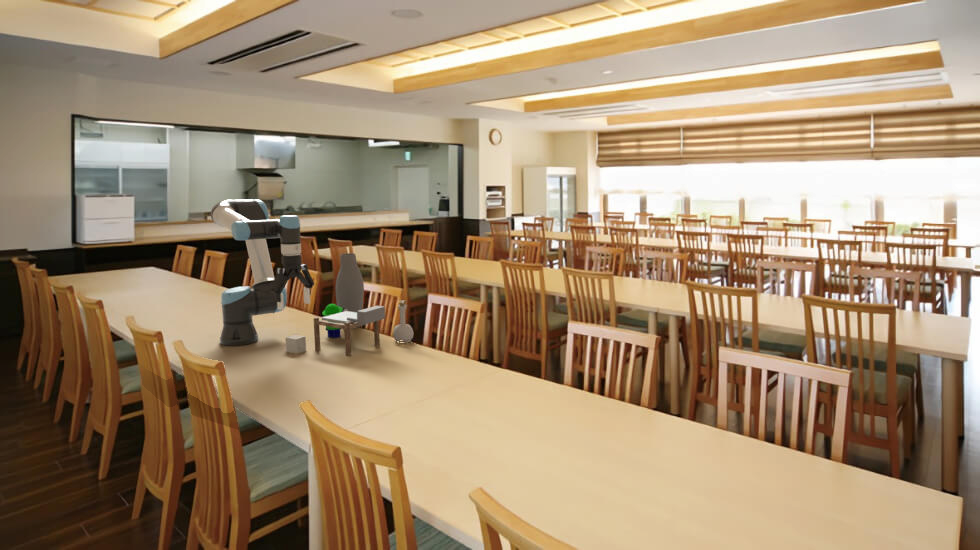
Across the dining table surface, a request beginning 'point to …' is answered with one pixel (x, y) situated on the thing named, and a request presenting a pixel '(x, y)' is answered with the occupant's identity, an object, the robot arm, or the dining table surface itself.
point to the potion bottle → (403, 326)
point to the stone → (295, 344)
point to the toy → (332, 331)
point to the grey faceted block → (358, 316)
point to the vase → (349, 284)
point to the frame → (346, 327)
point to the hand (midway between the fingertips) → (294, 306)
